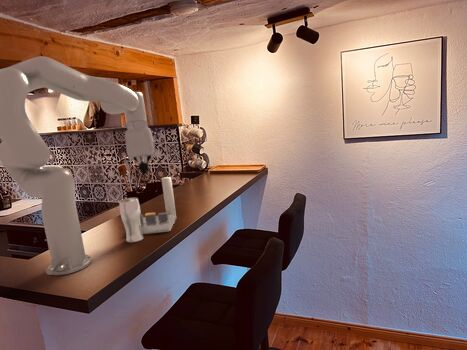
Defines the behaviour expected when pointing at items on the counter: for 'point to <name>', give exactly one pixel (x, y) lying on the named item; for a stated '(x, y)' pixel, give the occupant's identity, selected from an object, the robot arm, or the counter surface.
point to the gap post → (168, 196)
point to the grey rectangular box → (163, 216)
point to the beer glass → (131, 219)
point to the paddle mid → (150, 217)
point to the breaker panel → (157, 225)
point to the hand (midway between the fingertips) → (145, 172)
